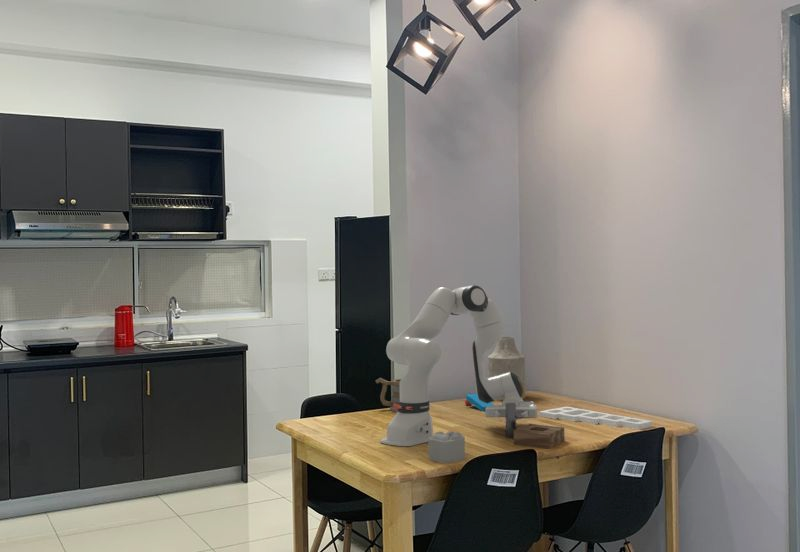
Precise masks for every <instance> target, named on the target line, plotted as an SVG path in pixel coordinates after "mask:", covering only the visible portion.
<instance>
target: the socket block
mask: <svg viewBox="0 0 800 552" xmlns="http://www.w3.org/2000/svg"><path fill="white" fill-rule="evenodd" d="M565 441H566V440H565V427H563V426H556V425H555V426H554V425H544V424H536V423H534V424H533V423H529V424H527V425H523V426H521V427H519V428H516V430H514V438H513V445H517V446H518V445H519V446H525V447H526V446H527V447H536V448H541V449H542V448H543V449H551V448H553V447H555V446H557V445H559V444H561V443H563V442H565Z"/></svg>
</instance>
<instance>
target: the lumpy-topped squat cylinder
mask: <svg viewBox="0 0 800 552" xmlns="http://www.w3.org/2000/svg"><path fill="white" fill-rule="evenodd" d="M433 435H434V436H432V437H429V439H428V442H427V444H428V445H427V446H428V460H430V461H433V462H437V463H442V464H448V463H449V464H450V463H456V462H458V461H462V460H464V459H465V457H466V444H465V443H466V442H465V441H466V440H465V435H463V434H462V433H460V431H459V432H458V431H452V430H450V431H448V432H447V433H446V432H443V431H437V432H436V434H433Z"/></svg>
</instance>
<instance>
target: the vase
mask: <svg viewBox="0 0 800 552" xmlns="http://www.w3.org/2000/svg"><path fill="white" fill-rule="evenodd" d="M525 360H526V359H525V355H523V354H521V353H520V352H519V350H518V349H517V346H516V342H515V338H514V337H513V336H503V337H502V339H501V340H500V341H499V343H497V344H496V345H495V349H494V351H493V352H492V353H491V354H489V355H488V356H487V374H488V375H487V378H490V377H494V376H497V375H500V374H504V373H507V372H513V373H514V374H516V375H517V376H518V377H519V379H520V382H521V384H522V388H523V395H522V397H521V398H522V400H525V399H526V373H525V372H526V367H525V366H526V364H525V363H526V362H525ZM524 398H525V399H524ZM503 400H504V398H502V399H498V400H497V401H500V402H501V401H502V402H503Z"/></svg>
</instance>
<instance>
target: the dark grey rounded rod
mask: <svg viewBox="0 0 800 552" xmlns="http://www.w3.org/2000/svg"><path fill="white" fill-rule="evenodd" d="M505 407H506V418H505V437H506V439H514V430H516V429H517V420H516V403H505Z"/></svg>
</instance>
